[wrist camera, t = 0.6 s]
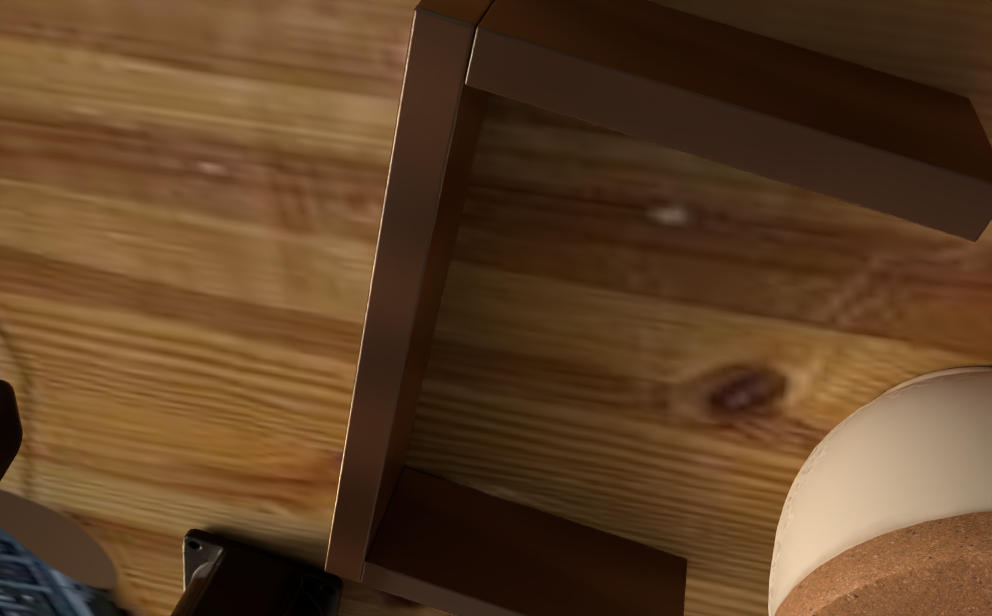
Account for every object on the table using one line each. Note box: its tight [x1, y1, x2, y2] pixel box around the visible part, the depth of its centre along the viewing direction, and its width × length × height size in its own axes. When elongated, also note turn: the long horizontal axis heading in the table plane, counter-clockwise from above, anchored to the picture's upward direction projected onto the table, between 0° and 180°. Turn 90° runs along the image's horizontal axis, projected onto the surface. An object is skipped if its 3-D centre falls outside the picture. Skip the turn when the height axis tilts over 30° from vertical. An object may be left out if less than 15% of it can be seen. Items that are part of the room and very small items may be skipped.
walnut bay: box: [325, 0, 992, 616], centre depth 23 cm, size 18×11×4 cm, turn 168°
